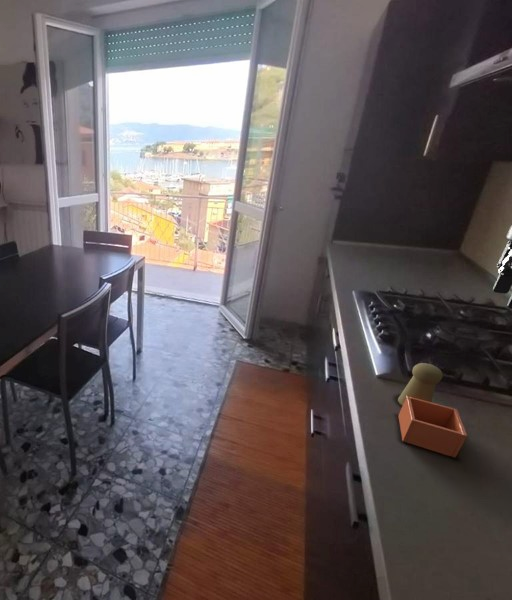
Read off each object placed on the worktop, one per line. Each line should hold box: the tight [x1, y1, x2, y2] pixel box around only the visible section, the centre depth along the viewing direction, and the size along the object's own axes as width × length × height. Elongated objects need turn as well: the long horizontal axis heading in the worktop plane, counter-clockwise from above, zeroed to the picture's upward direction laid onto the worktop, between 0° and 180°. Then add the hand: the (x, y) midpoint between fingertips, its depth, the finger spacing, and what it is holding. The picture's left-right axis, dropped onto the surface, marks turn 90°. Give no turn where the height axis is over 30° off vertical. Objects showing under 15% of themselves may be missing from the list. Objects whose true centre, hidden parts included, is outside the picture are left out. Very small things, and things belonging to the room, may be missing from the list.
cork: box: [397, 362, 443, 407], centre depth 83 cm, size 6×6×11 cm
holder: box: [397, 396, 468, 459], centre depth 76 cm, size 9×9×6 cm
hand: (506, 300), depth 69 cm, fingers open, 8 cm apart
